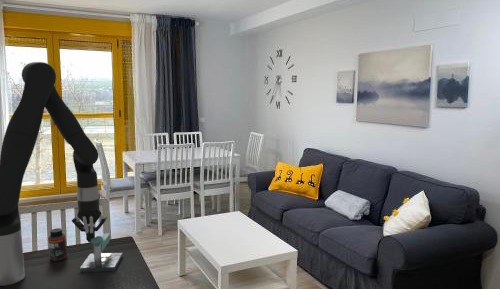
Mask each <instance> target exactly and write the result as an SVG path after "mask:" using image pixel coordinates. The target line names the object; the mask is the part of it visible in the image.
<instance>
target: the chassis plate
mask: <svg viewBox="0 0 500 289" xmlns="http://www.w3.org/2000/svg"><path fill="white" fill-rule="evenodd" d="M122 259H123V252H105V253H104V252H102V251H101V243H100V244H93V253H89V255H88V256H87V257H86V259H85V260H84V261H83V263H82V264H81V266H80V267H79V273H90V272H115V271H116V269H117V268H118V265H119V264H120V263H121V260H122Z"/></svg>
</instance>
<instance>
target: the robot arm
mask: <svg viewBox="0 0 500 289" xmlns="http://www.w3.org/2000/svg"><path fill="white" fill-rule="evenodd" d="M21 78H22V81H23V83H24V86H23V90H22V94H21V97H20V100H19V102H18V105H17V107H16V109H15V111H14V112H13V113H12V115H11V116H10V119H9V121H8V124H7V127H6V130H5V133H4V136H3V138H2V143H1V144H2V145H1V149H0V286H4V287H5V286H10V285H14V284H16V283H19V282H21V281H22V280H24V278H25V277H26V274H25V273H26V272H25V261H24V259H25V258H24V249H23V237H22V227H21V226H22V225H21V224H22V223H21V219H20V218H21V217H20V212H19V210H20V209H19V203H20V197H21V192H22V191H21V190H22V184H23V180H24V177H25V173H26V171H27V169H28V165H29V163H30V160H31V157H32V155H33V153H34V150H35V146H36V143H37V140H38V136H39V133H40V129H41V126H42V121H43V116H44V112H45V110H46V111H47V113H48V115H49V116H50V119H52V121H53V123H54V124H55V127H57V129H58V131H59V133H60V135H61V136H62V138H63V139H64V141H65V142H66V143H67V144H68V145H70V147H71V148H72V149H73V153H72V158H73V165H74V169H75V172H76V185H77V188H76V189H77V190H76V194H77V195H76V196H77V215H76V216H74V217H73V218H72V219H71V222H72V223H73V225H74V226H76V228H78V230H79V231H80V232H82V233H85V239H86V242H88V243H91V239H92V238H95V237H96V232H99V230H100V229H101V227H102V226H103V225H104V224H105V222H106V221H107V220H108V216H104V215H102V212H101V209H100V208H101V207H100V206H101V205H100V191H99V185H98V173H97V170H95V167H94V164H95V163H96V162H97V161H98V160H99V151H98V149H97V147H96V145H95V144H94V143H93V141H91V139H90V138H89V137H88V135H87V134H86V133H85V132H84V130H83V127H82V125H81V124H80V122H79V121H78V119H77V117H76V116H75V114H74V113H73V111H72V110H71V109H70V108H69V107H68V105H67V104H66V103H65V102H64V100H63V99H62V97H61V96H60V94H59V92H58V91H57V89H56V86H55V83H56V82H57V81H56V80H57V74H56V70H55V69H54V68H53V66H52V65H50V63H48V62H45V61H44V62H43V61H32V62H29V63H27V64H26V65H24V67H23V68H22V70H21ZM98 220H99V223H98V224H97V222H98ZM96 224H97V226H96Z"/></svg>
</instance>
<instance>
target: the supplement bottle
mask: <svg viewBox="0 0 500 289" xmlns="http://www.w3.org/2000/svg"><path fill="white" fill-rule="evenodd" d="M66 239H67V238H66V235H65V233H63V229H62V228H60V227H56V228H53V229H51V230H50V235H49V236H48V238H47V240H48V242H47V243H48V250H49V253H48V254H49V259H50V260H51V261H53V262H57V261H62V260H64V259H66V258H67V256H68V253H67V240H66Z"/></svg>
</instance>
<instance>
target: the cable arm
mask: <svg viewBox="0 0 500 289" xmlns="http://www.w3.org/2000/svg"><path fill="white" fill-rule="evenodd" d="M110 241H111V233H109V232H106V233H103V235H98V236H97V235H96V236H95V238H92V239H91V242H90V243H91V245H94V244H100V243H101V252H103V251H104V250H105V248H106V247H107V245H108V243H109V242H110Z"/></svg>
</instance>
